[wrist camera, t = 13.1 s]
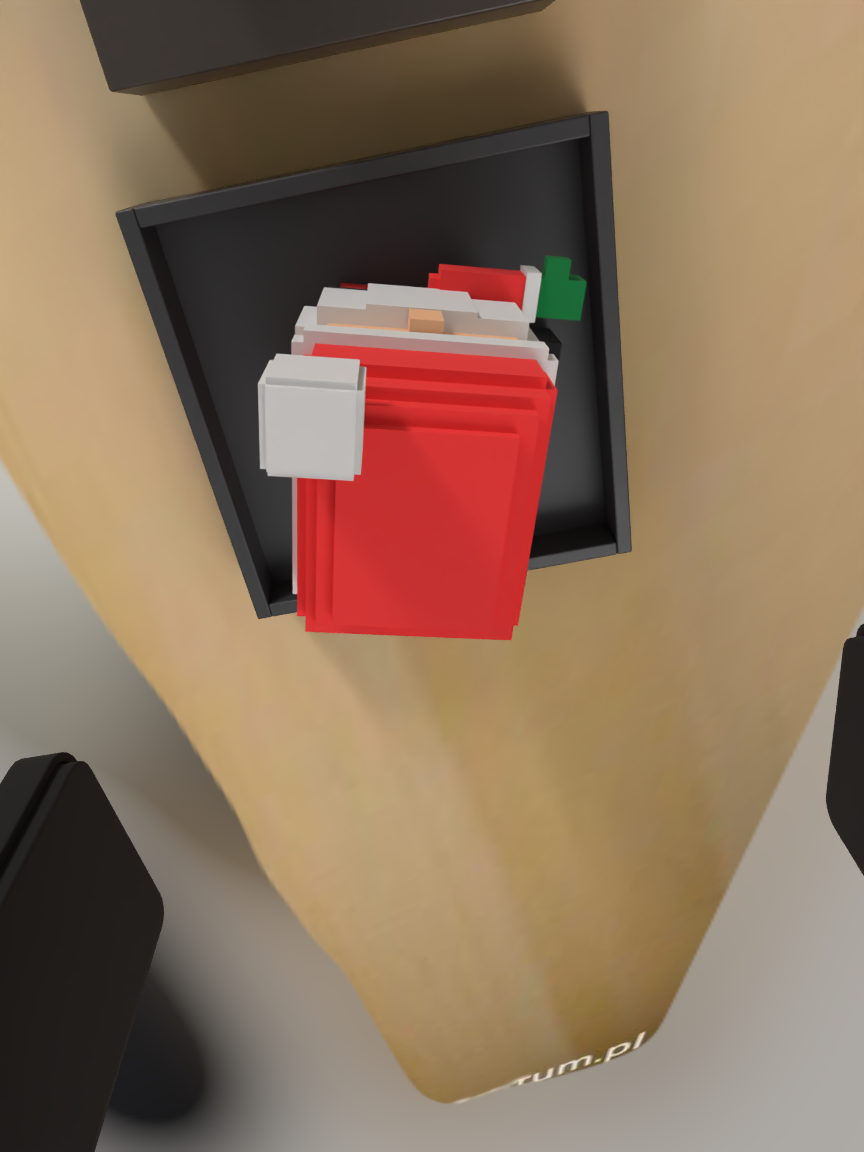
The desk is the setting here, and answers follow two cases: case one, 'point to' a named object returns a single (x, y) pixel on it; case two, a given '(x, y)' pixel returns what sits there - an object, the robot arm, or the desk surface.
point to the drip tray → (404, 258)
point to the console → (260, 33)
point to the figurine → (417, 447)
